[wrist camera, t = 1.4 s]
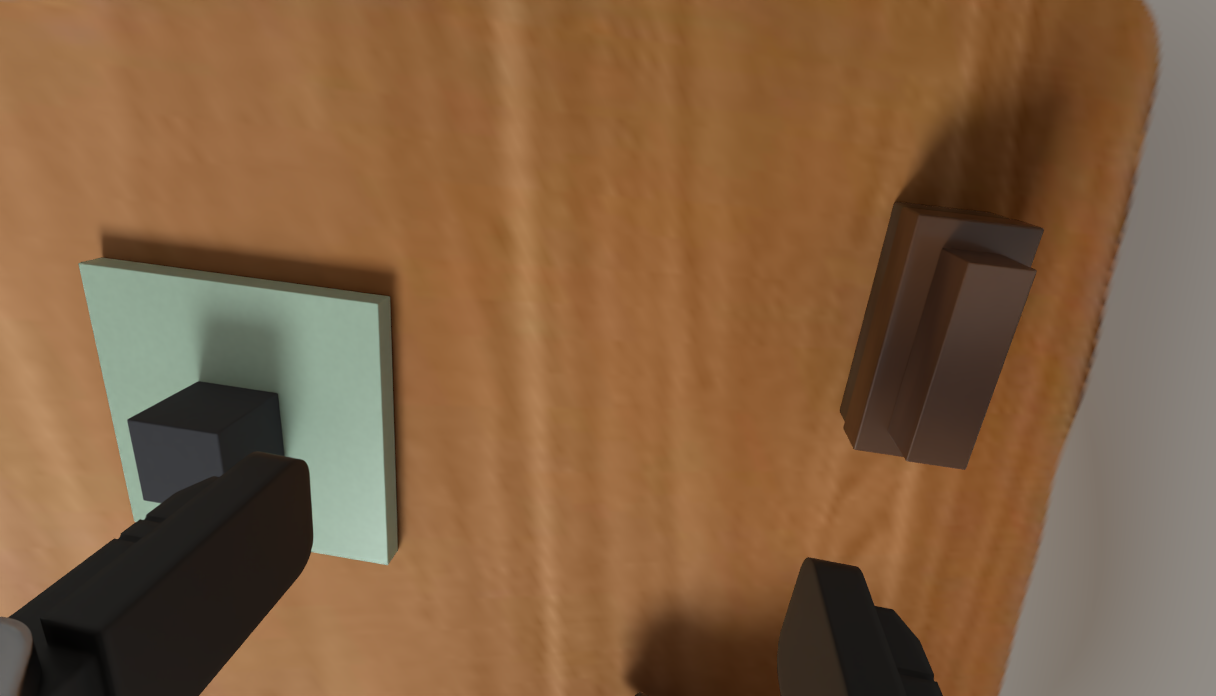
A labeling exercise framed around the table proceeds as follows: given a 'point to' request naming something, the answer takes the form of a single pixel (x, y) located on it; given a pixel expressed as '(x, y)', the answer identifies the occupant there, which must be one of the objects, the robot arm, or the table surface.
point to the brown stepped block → (937, 331)
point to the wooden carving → (640, 694)
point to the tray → (262, 379)
